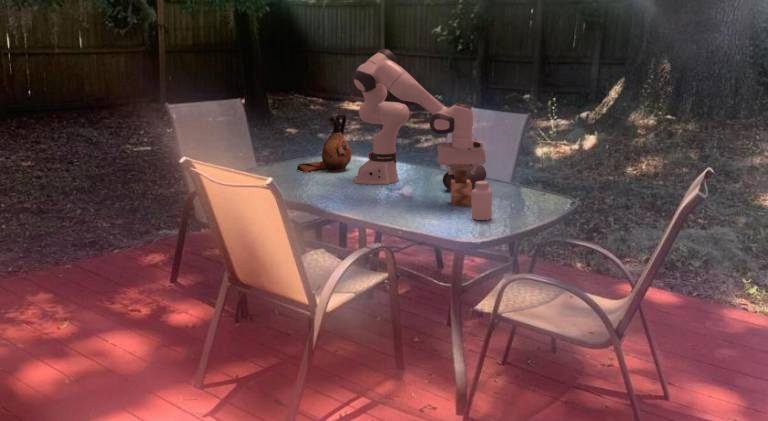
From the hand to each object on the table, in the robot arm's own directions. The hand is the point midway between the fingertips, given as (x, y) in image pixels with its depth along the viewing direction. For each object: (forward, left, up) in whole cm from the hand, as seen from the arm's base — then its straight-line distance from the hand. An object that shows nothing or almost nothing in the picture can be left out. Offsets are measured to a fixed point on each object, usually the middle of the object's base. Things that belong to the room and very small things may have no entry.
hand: (461, 174), depth 292 cm
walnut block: (0, 0, -3) cm, 3 cm away
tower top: (0, 0, -8) cm, 8 cm away
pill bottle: (+6, -22, -13) cm, 26 cm away
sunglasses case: (-70, +71, -14) cm, 101 cm away
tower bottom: (0, 0, -13) cm, 13 cm away
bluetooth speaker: (+5, +29, -13) cm, 32 cm away
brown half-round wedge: (+5, +45, -13) cm, 47 cm away
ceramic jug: (-58, +69, -13) cm, 91 cm away
